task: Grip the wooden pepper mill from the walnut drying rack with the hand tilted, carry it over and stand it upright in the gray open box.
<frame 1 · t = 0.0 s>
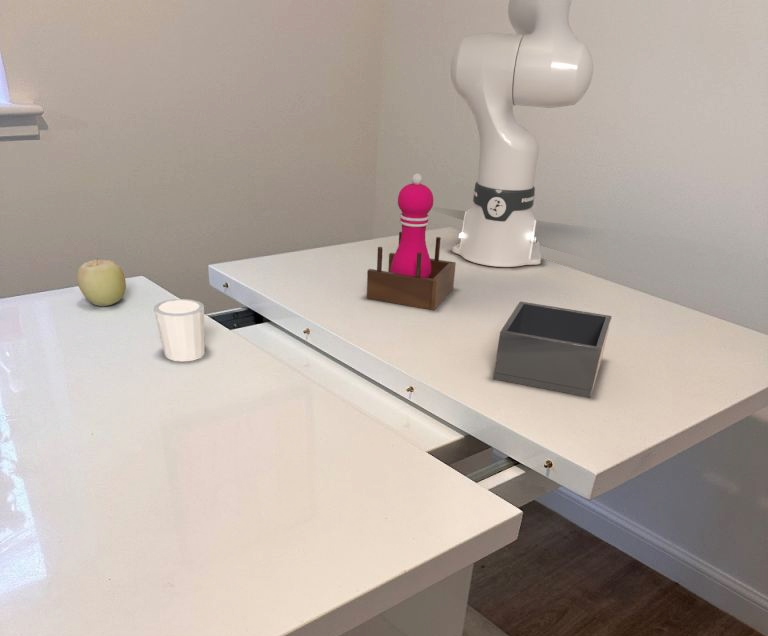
fruit: (105, 304, 119), on the table
pepper mill: (409, 295, 130), on the table
rack: (409, 293, 129), on the table
white cup: (185, 354, 104), on the table
gray open box: (549, 369, 105), on the table
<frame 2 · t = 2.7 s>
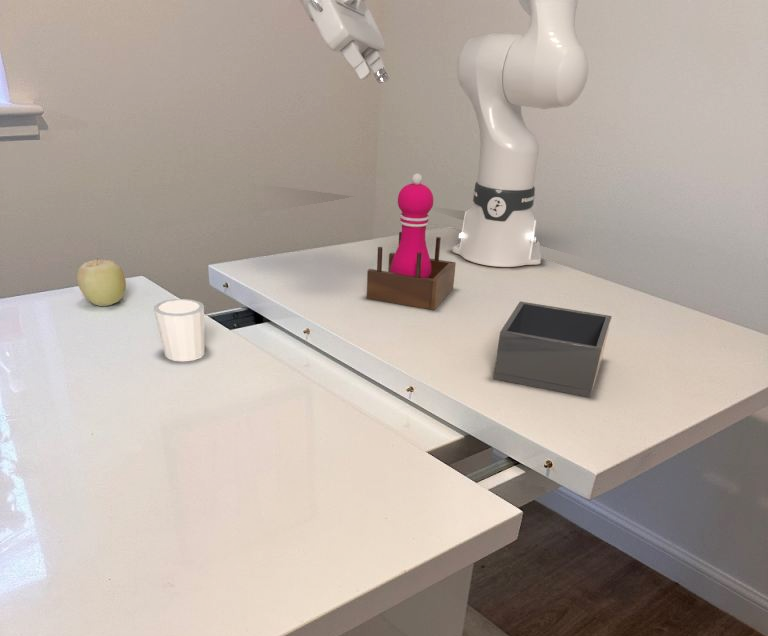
hand: (376, 79, 113), 33 cm above the table, tool tilted 40°, fingers open, 8 cm apart
nothing on the table moved.
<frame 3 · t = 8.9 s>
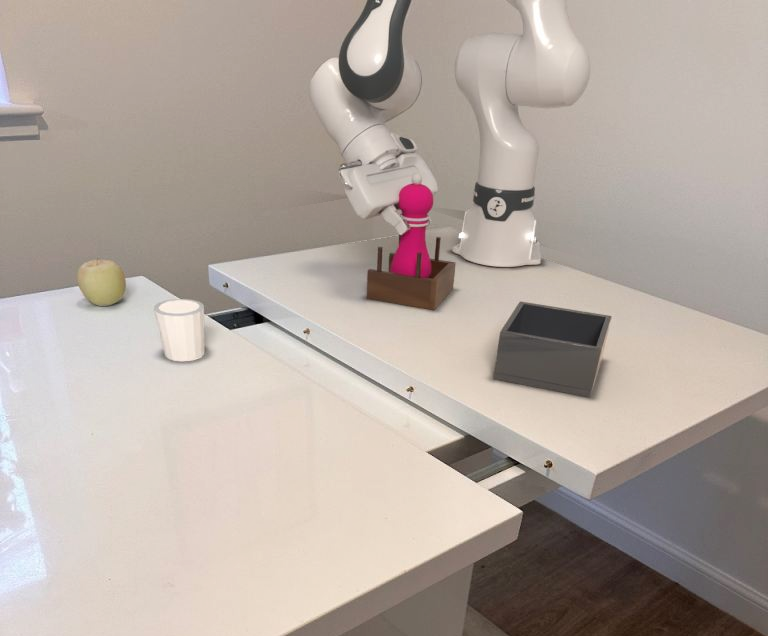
hand: (416, 228, 123), 11 cm above the table, tool tilted 45°, fingers closed on pepper mill, 5 cm apart
pepper mill: (409, 295, 130), on the table, touching gripper
everything else where it was.
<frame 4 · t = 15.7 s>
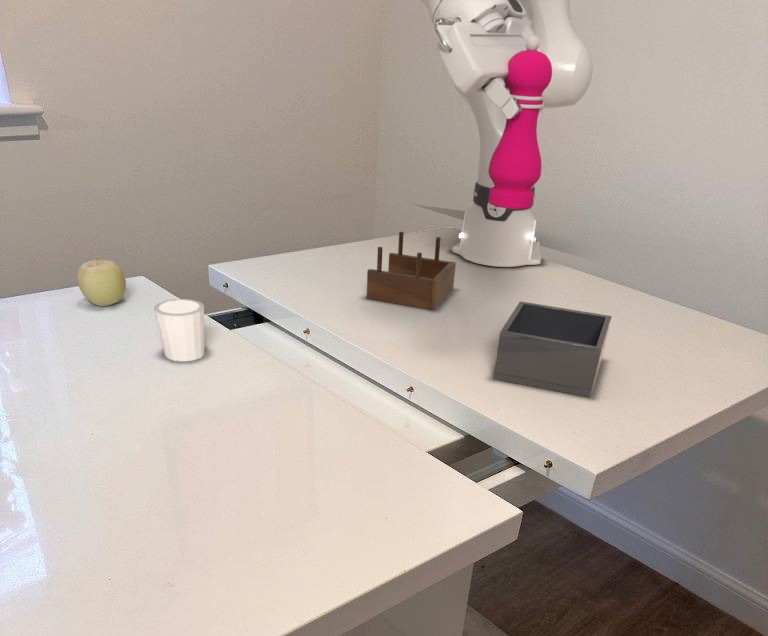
hand: (527, 113, 95), 32 cm above the table, tool tilted 45°, fingers closed on pepper mill, 5 cm apart
pepper mill: (509, 205, 102), point 20 cm above the table, touching gripper
everything else where it was.
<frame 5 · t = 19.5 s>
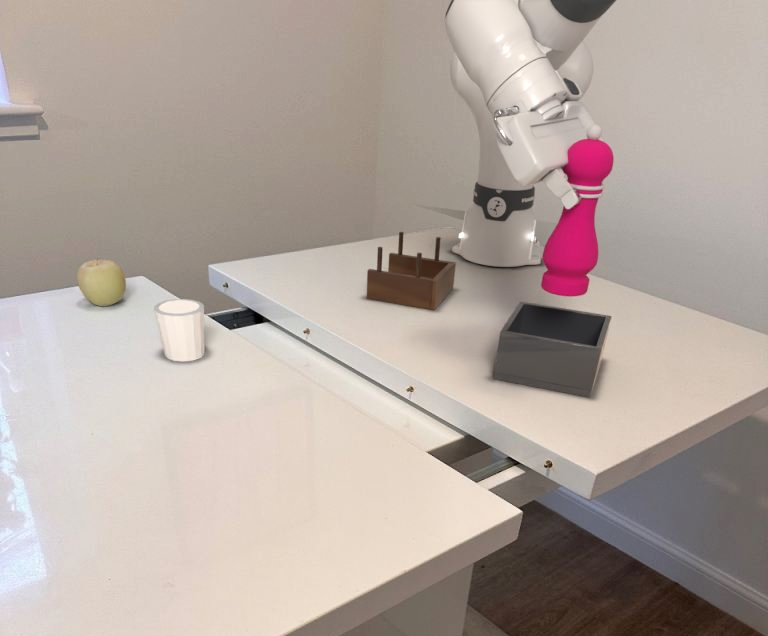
hand: (585, 201, 91), 23 cm above the table, tool tilted 45°, fingers closed on pepper mill, 5 cm apart
pepper mill: (563, 290, 98), point 12 cm above the table, touching gripper
everything else where it was.
when the fingers open (12 cm above the table, at t = 22.9 s): pepper mill stays where it is, resting on gray open box.
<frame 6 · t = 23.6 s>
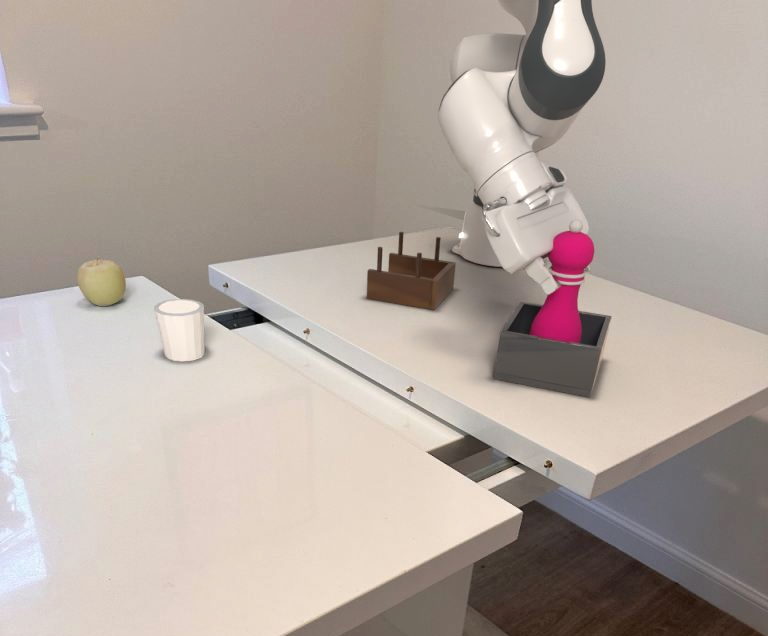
hand: (569, 282, 97), 13 cm above the table, tool tilted 45°, fingers open, 8 cm apart
pepper mill: (549, 364, 104), point 1 cm above the table, touching gray open box
everything else where it was.
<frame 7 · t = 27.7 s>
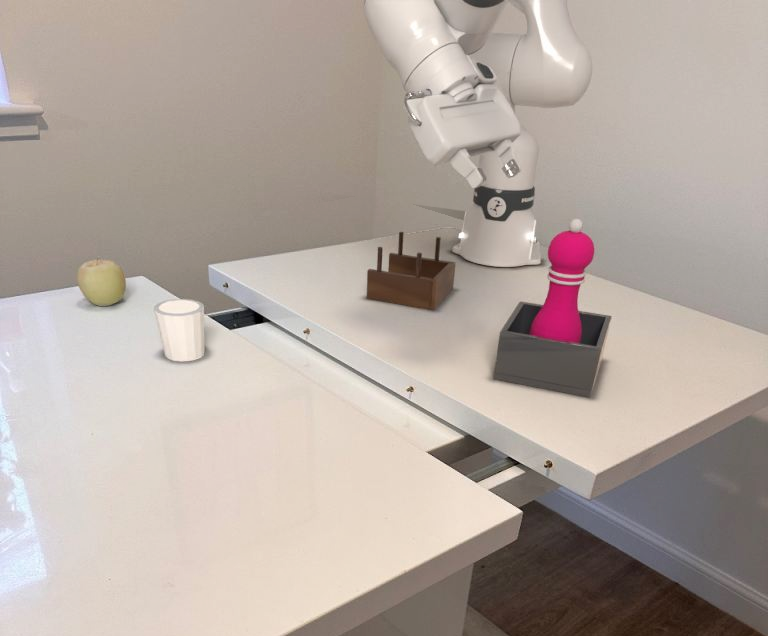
hand: (498, 179, 97), 24 cm above the table, tool tilted 45°, fingers open, 8 cm apart
nothing on the table moved.
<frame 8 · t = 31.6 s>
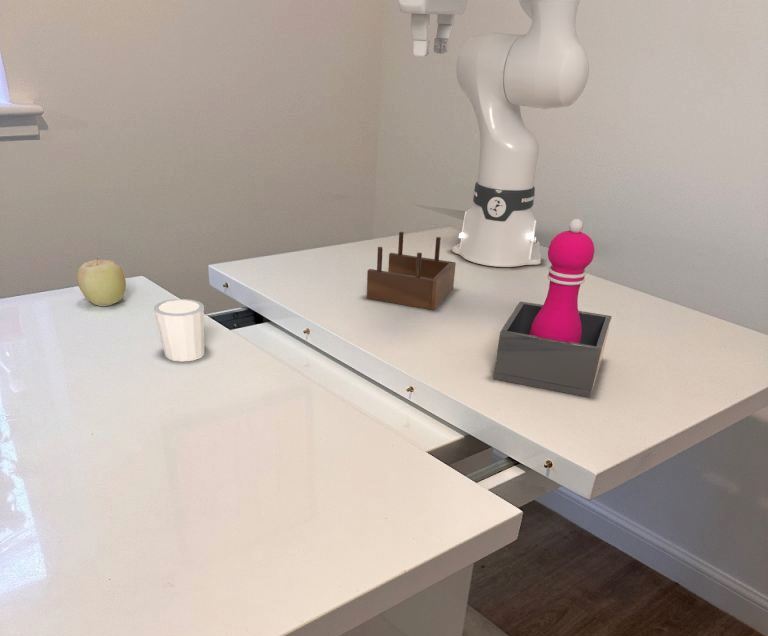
hand: (431, 54, 99), 37 cm above the table, tool pointing down, fingers open, 8 cm apart
nothing on the table moved.
at the end: pepper mill inside the target area in the gray open box (0.1 cm from its centre), point 0.8 cm above the gray open box's base; pepper mill tilted 0°; the gripper is holding nothing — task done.
